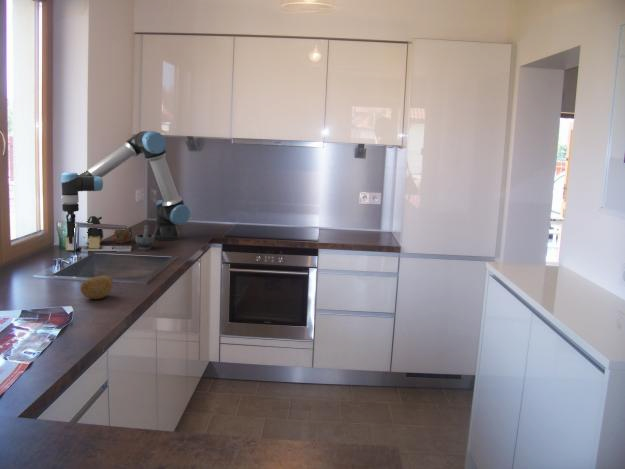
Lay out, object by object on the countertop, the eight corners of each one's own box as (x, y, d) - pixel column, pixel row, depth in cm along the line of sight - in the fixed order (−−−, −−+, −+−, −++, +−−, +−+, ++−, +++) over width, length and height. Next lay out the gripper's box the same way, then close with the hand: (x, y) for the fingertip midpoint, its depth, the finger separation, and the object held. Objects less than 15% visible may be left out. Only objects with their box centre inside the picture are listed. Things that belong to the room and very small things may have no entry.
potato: (120, 294, 208) (120, 273, 207) (98, 304, 195) (98, 282, 194) (97, 291, 210) (97, 271, 209) (74, 301, 197) (73, 279, 196)
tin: (118, 244, 304) (118, 229, 303) (113, 244, 305) (112, 229, 303) (132, 240, 319) (132, 226, 317) (127, 240, 319) (127, 225, 318)
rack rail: (131, 248, 296) (131, 245, 296) (130, 251, 288) (130, 249, 288) (83, 248, 290) (82, 246, 289) (81, 251, 281) (81, 249, 281)
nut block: (77, 248, 287) (77, 234, 286) (76, 250, 282) (76, 236, 281) (67, 248, 286) (67, 235, 285) (66, 250, 281) (65, 236, 280)
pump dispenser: (107, 243, 306) (107, 216, 303) (90, 245, 297) (90, 217, 295) (96, 241, 312) (96, 214, 309) (79, 243, 303) (79, 215, 301)
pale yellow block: (100, 249, 290) (99, 235, 289) (99, 251, 285) (99, 237, 284) (89, 249, 289) (89, 236, 288) (88, 251, 284) (88, 237, 283)
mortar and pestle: (151, 250, 292) (151, 228, 290) (133, 250, 291) (133, 227, 289) (156, 246, 303) (156, 225, 301) (138, 246, 302) (138, 224, 300)
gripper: (64, 201, 288) (66, 245, 291) (59, 205, 271) (61, 252, 274) (80, 201, 290) (81, 245, 294) (76, 205, 273) (77, 252, 276)
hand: (71, 248), depth 284 cm, fingers closed on nut block, 5 cm apart
